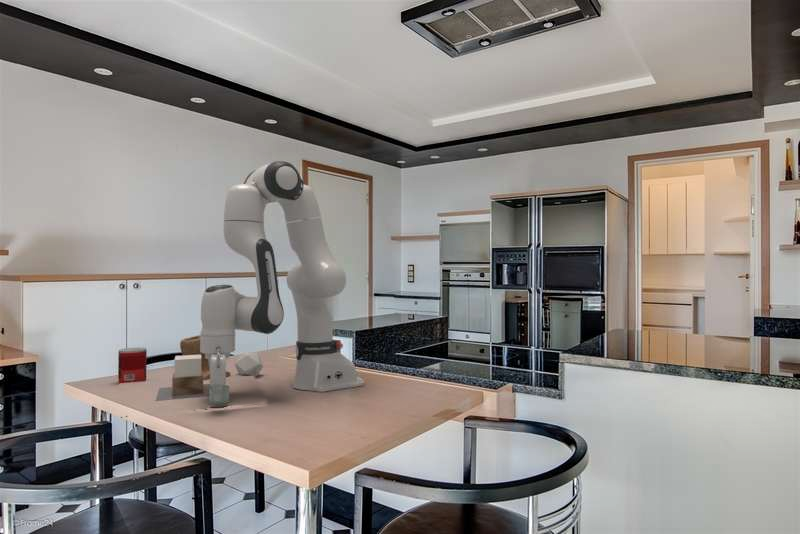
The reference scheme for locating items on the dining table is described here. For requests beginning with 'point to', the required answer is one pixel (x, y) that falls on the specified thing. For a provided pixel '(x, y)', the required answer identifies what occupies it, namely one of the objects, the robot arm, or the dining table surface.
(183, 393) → the walnut block
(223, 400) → the sage cylinder
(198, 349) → the tan boot
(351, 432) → the dining table surface
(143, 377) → the red box
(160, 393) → the slate coaster
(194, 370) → the cream block
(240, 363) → the die
